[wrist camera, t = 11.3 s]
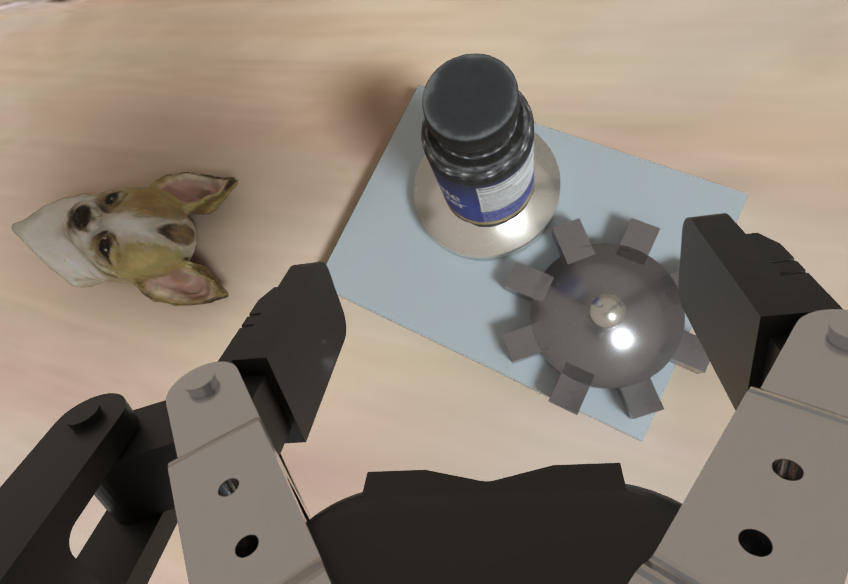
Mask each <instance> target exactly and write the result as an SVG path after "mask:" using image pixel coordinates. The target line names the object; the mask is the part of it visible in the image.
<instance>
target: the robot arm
mask: <svg viewBox="0 0 848 584" xmlns="http://www.w3.org/2000/svg"><path fill="white" fill-rule="evenodd" d="M679 296H680V301H681V305H682V308H683V310H684V312H685V314H686V316H687V318H688V320H689V322H690V324H691V325H692V327H693V329H694V331H695V333H696V335H697V337H698V339H699V341H700V343H701V345H702V347H703V349H704V350H705V352H706V354H707V356H708V358H709V360H710V362H711V364H712V366H713V368H714V370H715V372H716V374H717V376H718V377H719V379H720V381H721V383H722V385H723V387H724V389H725V391H726V393H727V395H728V397H729V399H730V401H731V402H732V404H733V406H734V408H735V410H736V411H735V413H734V415H733V417H732V418H731V420H730V422H729V424H728V425H727V427H726V429H725V431H724V432H723V434H722V436H721V438H720V439H719V441H718V443H717V445H716V446H715V448H714V450H713V452H712V453H711V455H710V457H709V459H708V460H707V462H706V464H705V466H704V467H703V469H702V471H701V473H700V474H699V476H698V478H697V480H696V481H695V483H694V485H693V487H692V488H691V490H690V492H689V494H688V495H687V497H686V499H685V501H684V502H683V504H681V503H680V502H678V501H676V500H674V499H672V498H670V497H667V496H665V495H662V494H660V493H657V492H655V491H652V490H648V489H645V488H642V487H638V486H634V485H629V484H625V482H624V478H623V473H622V469H621V465H620V463H605V464H577V465H553V466H549V467H545V468H541V469H537V470H533V471H530V472H526V473H522V474H518V475H514V476H510V477H506V478H503V479H499V480H495V481H487V482H485V481H478V480H473V479H468V478H463V477H458V476H453V475H448V474H443V473H438V472H433V471H428V470H411V471H383V472H368V473H367V477H366V481H365V485H364V490H363V492H361V493H358V494H355V495H352V496H350V497H347V498H345V499H342V500H340V501H338V502H336V503H334V504H332V505H330V506H329V507H327V508H326V509H324V510H322V511H321V512H319V513H318V514H316V515H315V516H314V517H312V518H311V516H310V514H309V512H308V510H307V508H306V506H305V504H304V501H303V499H302V497H301V495H300V493H299V491H298V489H297V486H296V484H295V482H294V480H293V478H292V476H291V473H290V471H289V469H288V467H287V465H286V463H285V461H284V459H283V457H282V455H281V451H282V448H283V446H284V444H285V443H298V442H306V440H307V438H308V435H309V432H310V430H311V427H312V425H313V422H314V419H315V417H316V414H317V411H318V409H319V406H320V403H321V401H322V398H323V395H324V393H325V390H326V388H327V385H328V382H329V380H330V377H331V374H332V372H333V369H334V366H335V364H336V361H337V358H338V356H339V353H340V351H341V348H342V345H343V343H344V340H345V336H346V321H345V316H344V312H343V309H342V307H341V304H340V301H339V298H338V295H337V292H336V289H335V286H334V283H333V280H332V277H331V274H330V272H329V269H328V267H327V265H326V264H325V263H324V262H315V263H307V264H299V265H293V266H291V267H290V269H289V270H288V272H287V273H286V275H285V276H284V278H283V280H282V281H281V283H280V284H279V286H278V287H274V288H273V289H272V290H270V291H269V292H268V293H267V294H266V295H264V296H263V297H262V298H261V299H259V300H258V302H257V303H256V305H255V306H254V308H253V309H252V311H251V312H250V314H249V315H250V317H247V318H246V320H245V321H244V323H243V324H242V328H240V329H239V330H238V332H237V333H236V335H235V336H234V338H233V339H232V341H231V342H230V344H229V345H228V347H227V348H226V350H225V351H224V353H223V355H222V356H221V358H220V359H219V361H218V362H213V363H209V364H206V365H203V366H200V367H198V368H196V369H194V370H192V371H190V372H189V373H187V374H185V375H184V376H183V377H181V378H180V379H179V380H178V381H177V382H176V383H175V384H174V385H173V386H172V387H171V389H170V390H169V392H168V394H167V397H166V400H165V401H162V402H159V403H156V404H152V405H149V406H146V407H143V408H139V409H136V410H132V408H131V407H130V406H129V404H128V403H127V401H126V400H125V398H124V397H123V396H122V395H120V394H115V393H109V394H103V395H99V396H96V397H93V398H90V399H88V400H86V401H84V402H82V403H80V404H78V405H77V406H75V407H74V408H72V409H71V410H69V411H68V412H67V413H65V414H64V415H63V416H62V417H61V418H60V419H59V420H58V421H57V422H56V423H55V424H54V425H53V426H52V428H51V429H50V430H49V431H48V432H47V433H46V435H45V436H44V437H43V438H42V439H41V440H40V442H39V443H38V444H37V445H36V446H35V447H34V449H33V450H32V451H31V452H30V453H29V454H28V456H27V457H26V458H25V459H24V460H23V461H22V463H21V464H20V465H19V466H18V467H17V469H16V470H15V471H14V472H13V473H12V474H11V476H10V477H9V478H8V479H7V480H6V481H5V483H4V484H3V485H2V486H1V487H0V584H148V582H149V579H150V577H151V575H152V573H153V571H154V569H155V567H156V565H157V563H158V561H159V559H160V557H161V555H162V553H163V551H164V549H165V547H166V545H167V543H168V541H169V539H170V537H171V535H172V533H173V531H174V528H175V526H176V524H177V522H178V527H179V532H180V537H181V543H182V548H183V554H184V559H185V565H186V570H187V575H188V581H189V584H844V583H845V580H846V576H847V573H848V310H843V309H842V308H841V307H840V305H839V304H838V303H837V302H836V301H835V300H834V299H833V298H832V297H831V296H830V295H829V294H828V293H827V292H826V291H825V290H824V289H823V288H822V287H821V286H820V285H819V284H818V283H817V282H816V280H815V279H814V278H813V277H812V276H811V275H810V274H809V273H806V272H805V269H804V268H803V267H802V266H801V265H800V264H799V263H798V262H797V261H794V258H793V256H792V255H791V254H790V253H789V252H788V251H787V250H786V249H785V248H784V247H783V246H782V245H781V244H780V243H778V242H775V241H773V240H771V239H769V238H767V237H765V236H763V235H761V234H759V233H752V234H745V233H744V232H743V230H742V229H741V228H740V227H739V226H738V225H737V224H736V222H735V221H734V220H733V219H732V218H731V217H730V216H729V215H728V214H727V213H720V214H712V215H704V216H696V217H688V218H686V219H685V220H684V223H683V228H682V240H681V254H680V268H679ZM93 495H95V496H96V498H97V499H98V500H99V501H100V502H101V503H102V505H103V506H104V507H105V508H106V509H107V511H106V512H105V514H104V515H103V517H102V519H101V520H100V522H99V523H98V525H97V527H96V528H95V530H94V531H93V533H92V535H91V536H90V538H89V539H88V541H87V542H86V544H85V546H84V547H83V549H82V550H81V552H80V554H79V555H78V557H77V558H75V557H74V556H73V555H72V553H71V551H70V547H69V538H70V533H71V530H72V527H73V525H74V524H75V522H76V520H77V519H78V517H79V516H80V514H81V513H82V511H83V510H84V509H85V507H86V506H87V504H88V503H89V501H90V500H91V498H92V497H93Z"/></svg>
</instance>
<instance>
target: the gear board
mask: <svg viewBox="0 0 848 584" xmlns="http://www.w3.org/2000/svg"><path fill="white" fill-rule="evenodd" d="M424 89H425V87H424V86H421V85H418V87H417V89H416V91H415V93H414V95H413V97H412V99H411V101H410V103H409V104H408V106H407V108H406V110H405V112H404V114H403V116H402V118H401V120H400V122H399V124H398V126H397V128H396V130H395V132H394V134H393V136H392V138H391V139H390V141H389V143H388V145H387V147H386V149H385V151H384V153H383V155H382V157H381V159H380V161H379V163H378V165H377V167H376V169H375V171H374V173H373V175H372V176H371V178H370V180H369V182H368V184H367V186H366V188H365V190H364V192H363V194H362V196H361V198H360V200H359V202H358V204H357V206H356V208H355V210H354V211H353V213H352V215H351V217H350V219H349V221H348V223H347V225H346V227H345V229H344V231H343V233H342V235H341V237H340V239H339V241H338V243H337V245H336V246H335V248H334V250H333V252H332V254H331V256H330V258H329V260H328V262H327V264H326V265H327V267H328V269H329V272H330V274H331V277H332V280H333V283H334V286H335V289H336V292H337V295H339V296H341V297H343V298H345V299H347V300H349V301H351V302H353V303H355V304H357V305H359V306H361V307H363V308H366V309H368V310H370V311H372V312H374V313H376V314H378V315H380V316H382V317H384V318H386V319H388V320H390V321H393V322H395V323H397V324H399V325H401V326H403V327H405V328H407V329H409V330H411V331H413V332H415V333H417V334H420V335H422V336H424V337H426V338H428V339H430V340H432V341H434V342H436V343H438V344H440V345H442V346H444V347H446V348H449V349H451V350H453V351H455V352H457V353H459V354H461V355H463V356H465V357H467V358H469V359H471V360H473V361H476V362H478V363H480V364H482V365H484V366H486V367H488V368H490V369H492V370H494V371H496V372H498V373H500V374H502V375H505V376H507V377H509V378H511V379H513V380H515V381H517V382H519V383H521V384H523V385H525V386H527V387H529V388H532V389H534V390H536V391H538V392H540V393H542V394H544V395H546V396H548V397H550V396H551V394H552V392H553V390H554V387H555V385H556V383H557V381H558V379H559V376H560V373H559V372H557V371H556V370H555V369H554V368H553V367H552V366H551V365H550V364H549V363H548V362H547V361H546V359H545V358H544V357H543V355H542V354H540V355H537V356H534V357H532V358H529V359H526V360H523V361H520V362H517V363H514V364H513V362H512V359H511V356H510V354H509V351H508V348H507V346H506V343H505V340H504V337H503V335H504V334H506V333H509V332H512V331H515V330H518V329H520V328H523V327H526V326H529V325H531V317H530V309H531V302H530V301H528V300H526V299H523V298H521V297H519V296H516V295H514V294H512V293H509V292H507V291H506V290H505V284H506V282H507V280H508V278H509V276H510V274H511V271H512V269H513V267H514V265H515V263H516V261H517V262H519V263H522V264H524V265H527V266H529V267H531V268H534V269H536V270H539V271H541V272H545V271H546V269H547V268H548V267H549V266H550V265H551V264H552V263H553V262H554V261H556V260H557V259H558V258H559V257H561V256H560V253H559V251H558V249H557V246H556V244H555V242H554V239H553V237H552V229H553V228H554V227H557V226H560V225H562V224H565V223H568V222H570V221H573V220H575V219H578V218H580V220H581V223H582V225H583V227H584V229H585V232H586V234H587V236H588V238H589V241H590V243H591V244H598V243H612V244H620V242H621V239H622V237H623V235H624V233H625V231H626V228H627V226H628V224H629V222H630V220H631V218H634V219H636V220H639V221H642V222H645V223H647V224H650V225H653V226H656V227H658V228H660V230H659V233H658V235H657V237H656V239H655V242H654V244H653V246H652V248H651V250H650V253H649V255H648V256H650V257H652V258H653V259H654V260H656V261H657V262H658V263H659V264H660V265H661V266H662V267H663V268H664V269H665V270H666V271H667V272H668V273H669V274H670V275H671V274H674V273H676V272H679V268H680V254H681V240H682V228H683V223H684V220H685V219H686V218H688V217H696V216H704V215H712V214H720V213H727V214H728V215H729V216H730V217H731V218H732V219H733V220H734V221H735V222H736V223H737V220H738V218H739V216H740V213H741V211H742V209H743V206H744V204H745V202H746V199H747V197H748V195H749V194H747V193H744V192H741V191H738V190H734V189H731V188H728V187H725V186H722V185H719V184H716V183H713V182H710V181H707V180H704V179H701V178H698V177H695V176H692V175H689V174H686V173H683V172H680V171H677V170H674V169H671V168H668V167H665V166H662V165H659V164H656V163H653V162H650V161H647V160H644V159H641V158H638V157H635V156H632V155H629V154H626V153H623V152H620V151H617V150H614V149H611V148H608V147H605V146H602V145H599V144H596V143H593V142H590V141H587V140H584V139H581V138H578V137H575V136H572V135H569V134H566V133H563V132H560V131H557V130H553V129H550V128H547V127H544V126H541V125H538V124H535V123H534V132H535V133H536V134H537V135H539V136H540V137H541V138H542V139H543V140H544V141H545V142H546V144H547V145H548V146H549V148H550V149H551V151H552V153H553V154H554V156H555V158H556V161H557V164H558V167H559V172H560V183H561V185H560V195H559V202H558V206H557V210H556V213H555V215H554V218H553V220H552V221H551V223H550V225H549V227H548V228H547V229H546V231H545V232H544V233H543V235H542V236H541V237H540V238H539V239H538V240H537V241H536V242H534V243H533V244H532V245H531V246H529V247H528V248H526V249H525V250H523V251H521V252H519V253H517V254H515V255H513V256H510V257H507V258H503V259H499V260H493V261H477V260H470V259H465V258H462V257H459V256H456V255H454V254H452V253H450V252H448V251H447V250H445V249H444V248H442V247H441V246H440V245H439V244H437V243H436V242H435V241H434V240H433V238H432V237H431V236H430V235H429V234H428V232H427V230H426V229H425V227H424V226H423V224H422V222H421V221H420V218H419V216H418V214H417V211H416V207H415V203H414V181H415V176H416V173H417V169H418V167H419V165H420V162H421V160H422V159H423V157H424V155H425V152H424V149H423V145H422V140H421V130H422V122H423V120H424V114H423V108H422V97H423V92H424ZM691 327H692V325H691V324H690V322H689V320H688V318H687V316H686V314H685V326H684V331H686V332H690V330H691ZM675 365H676V364H673V363H671V362H668V364H667V365H666V366H665V367H664V368H663V369H662V370H660V371H659V372H658V373H656V374H655V375H654V376H652V377H650V378H651V381H652V383H653V385H654V387H655V390H656V392H657V394H658V396H659V399H660V400H661V397H662V395H663V393H664V390H665V388H666V386H667V383H668V381H669V379H670V376H671V374H672V372H673V369H674V367H675ZM579 412H581V413H583V414H585V415H588V416H590V417H592V418H594V419H596V420H598V421H600V422H602V423H604V424H606V425H608V426H610V427H612V428H615V429H617V430H619V431H621V432H623V433H625V434H627V435H629V436H631V437H633V438H635V439H637V440H640V441H643V439H644V437H645V434H646V432H647V430H648V427H649V425H650V423H651V421H652V418H653V416H654V414H655V412H654V413H651V414H648V415H645V416H642V417H639V418H636V419H630V418H629V417H628V414H627V412H626V409H625V407H624V405H623V402H622V400H621V398H620V395H619V393H618V391H617V388H616V389H599V388H591V387H589V390H588V392H587V394H586V396H585V399H584V401H583V403H582V405H581V408H580V410H579Z"/></svg>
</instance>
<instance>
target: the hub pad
mask: <svg viewBox="0 0 848 584" xmlns="http://www.w3.org/2000/svg"><path fill="white" fill-rule="evenodd" d="M560 185H561V183H560V172H559V167H558V164H557V161H556V158H555V156H554V154H553V153H552V151H551V149H550V148H549V146H548V145H547V144H546V142H545V141H544V140H543V139H542V138H541V137H540V136H539V135H537V134H536V133H535V132H534V190H533V193H532V195H531V198H530V200H529V202H528V204H527V206H526V207H525V209H524V210H523V211H522V212H521V213H520V214H519V215H518V216H517V217H515V218H514V219H512V220H510V221H508V222H506V223H504V224H501V225H498V226H495V227H478V226H475V225H473V224H472V223H470V222H465V221H463V220H461V219H460V218H458V217H457V216H456V215H455V214H454V213H453V212H452V211H451V210H450V208H449V206H448V204H447V202H446V200H445V198H444V196H443V193H442V191H441V189H440V187H439V184H438V182H437V180H436V178H435V175H434V173H433V170H432V168H431V166H430V164H429V161H428V159H427V157H426V155H424V157H423V159H422V160H421V162H420V165H419V167H418V169H417V173H416V176H415V181H414V203H415V207H416V211H417V214H418V216H419V218H420V221H421V222H422V224H423V226H424V227H425V229H426V230H427V232H428V234H429V235H430V236H431V237H432V238H433V240H434V241H435V242H436V243H437V244H439V245H440V246H441V247H442V248H444V249H445V250H447V251H448V252H450V253H452V254H454V255H456V256H459V257H462V258H465V259H470V260H477V261H493V260H499V259H503V258H507V257H510V256H513V255H515V254H517V253H519V252H521V251H523V250H525V249H526V248H528V247H529V246H531V245H532V244H533V243H534V242H536V241H537V240H538V239H539V238H540V237H541V236H542V235H543V233H544V232H545V231H546V229H547V228H548V227H549V225H550V223H551V221H552V220H553V218H554V215H555V213H556V210H557V206H558V202H559V195H560Z"/></svg>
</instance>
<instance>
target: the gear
mask: <svg viewBox="0 0 848 584" xmlns="http://www.w3.org/2000/svg"><path fill="white" fill-rule="evenodd" d="M659 230H660V228H658V227H656V226H653V225H650V224H647V223H645V222H642V221H639V220H636V219H634V218H631V220H630V222H629V224H628V226H627V228H626V231H625V233H624V235H623V237H622V239H621V242H620V244H612V243H598V244H591V243H590V241H589V238H588V236H587V234H586V232H585V229H584V227H583V225H582V223H581V220H580V218H578V219H575V220H573V221H570V222H568V223H565V224H562V225H560V226H557V227H554V228H553V229H552V237H553V239H554V242H555V244H556V246H557V249H558V251H559V253H560V256H561V257H559V258H558V259H557V260H556V261H554V262H553V263H552V264H551V265H550V266H549V267H548V268H547V269H546V271H545V272H541V271H539V270H536V269H534V268H531V267H529V266H527V265H524V264H522V263H519V262H517V261H516V263H515V265H514V267H513V269H512V271H511V274H510V276H509V278H508V280H507V282H506V284H505V290H506V291H507V292H509V293H512V294H514V295H516V296H519V297H521V298H523V299H526V300H528V301H530V302H531V309H530V317H531V325H529V326H526V327H523V328H520V329H518V330H515V331H512V332H509V333H506V334H504V335H503V337H504V340H505V343H506V346H507V348H508V351H509V354H510V356H511V359H512V362H513V364H514V363H517V362H520V361H523V360H526V359H529V358H532V357H534V356H537V355H540V354H542V355H543V357H544V358H545V359H546V361H547V362H548V363H549V364H550V365H551V366H552V367H553V368H554V369H555V370H556V371H557V372H559V373H560V376H559V379H558V381H557V383H556V385H555V387H554V390H553V392H552V394H551V396H550V398H549V402H551V403H553V404H555V405H557V406H559V407H561V408H563V409H565V410H567V411H569V412H572V413H574V414H576V415H577V414H578V412H579V410H580V408H581V405H582V403H583V401H584V399H585V396H586V394H587V392H588V390H589V387H591V388H599V389H616V388H617V391H618V393H619V395H620V398H621V400H622V402H623V405H624V407H625V409H626V412H627V414H628V417H629V418H630V419H636V418H639V417H642V416H645V415H648V414H651V413H654V412H657V411H660V410H663V409H664V408H663V405H662V403H661V401H660V399H659V396H658V394H657V392H656V390H655V387H654V385H653V383H652V381H651V378H650V377H652V376H654V375H655V374H656V373H658V372H659V371H660V370H662V369H663V368H664V367H665V366H666V365H667V364H668V362H671V363H673V364H676V365H678V366H680V367H683V368H685V369H687V370H690V371H692V372H694V373H696V374H699V373H704V372H705V371H706V369H707V366H708V364H709V362H710V360H709V358H708V356H707V354H706V352H705V350H704V349H703V347H702V345H701V343H700V341H699V339H698V337H697V336H696V335H693V334H691V333H689V332H686V331H684V326H685V312H684V310H683V308H682V305H681V301H680V296H679V272H676V273H674V274H671V275H670V274H669V273H668V272H667V271H666V270H665V269H664V268H663V267H662V266H661V265H660V264H659V263H658V262H657V261H656V260H654V259H653V258H652V257H650V256H648V255H649V253H650V250H651V248H652V246H653V244H654V242H655V239H656V237H657V235H658V233H659Z"/></svg>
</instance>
